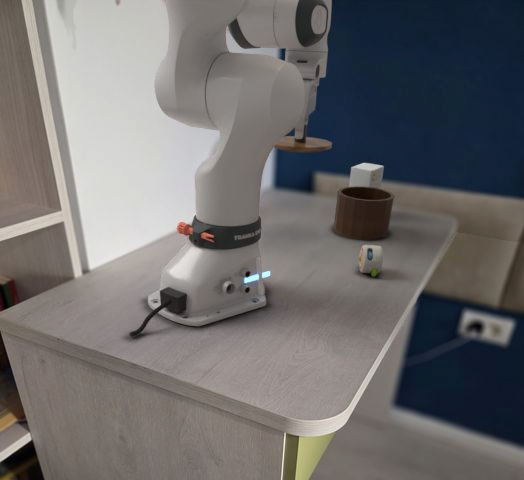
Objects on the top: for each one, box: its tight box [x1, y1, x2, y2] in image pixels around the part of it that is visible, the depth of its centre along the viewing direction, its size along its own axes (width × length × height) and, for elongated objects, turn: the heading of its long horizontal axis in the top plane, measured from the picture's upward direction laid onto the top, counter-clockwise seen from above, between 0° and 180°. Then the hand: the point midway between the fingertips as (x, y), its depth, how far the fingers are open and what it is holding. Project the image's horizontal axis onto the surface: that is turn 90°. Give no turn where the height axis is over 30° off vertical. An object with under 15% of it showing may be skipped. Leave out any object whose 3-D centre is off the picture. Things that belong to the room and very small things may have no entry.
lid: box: [274, 124, 333, 153], centre depth 113 cm, size 15×15×5 cm
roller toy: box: [358, 244, 384, 277], centre depth 103 cm, size 4×6×6 cm
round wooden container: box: [333, 186, 395, 241], centre depth 125 cm, size 14×14×10 cm
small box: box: [348, 162, 385, 189], centre depth 137 cm, size 8×6×13 cm
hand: (300, 137), depth 113 cm, fingers closed on lid, 2 cm apart
